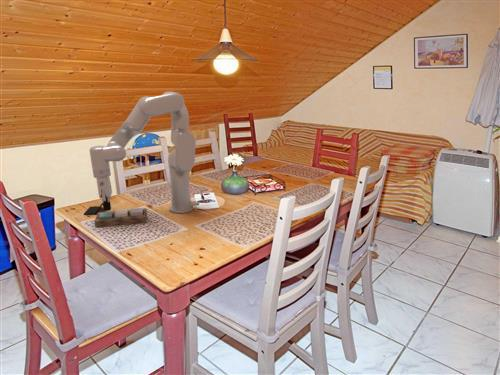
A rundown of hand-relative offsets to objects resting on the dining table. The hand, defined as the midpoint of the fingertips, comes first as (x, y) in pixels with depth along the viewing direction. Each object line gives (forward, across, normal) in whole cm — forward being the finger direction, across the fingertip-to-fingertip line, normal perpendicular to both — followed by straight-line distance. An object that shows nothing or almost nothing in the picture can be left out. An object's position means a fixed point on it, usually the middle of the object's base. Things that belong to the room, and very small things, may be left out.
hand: (107, 209), depth 180 cm
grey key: (+4, 0, -13) cm, 14 cm away
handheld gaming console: (+6, +17, +8) cm, 20 cm away
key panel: (+6, 0, -6) cm, 9 cm away
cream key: (+4, 0, -6) cm, 7 cm away
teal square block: (+4, 0, +1) cm, 5 cm away
